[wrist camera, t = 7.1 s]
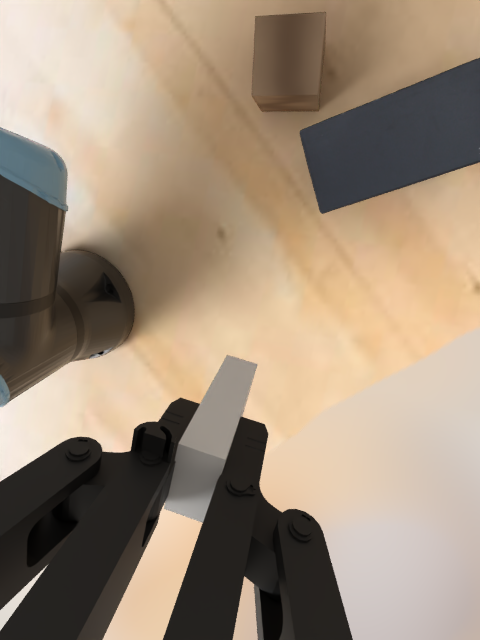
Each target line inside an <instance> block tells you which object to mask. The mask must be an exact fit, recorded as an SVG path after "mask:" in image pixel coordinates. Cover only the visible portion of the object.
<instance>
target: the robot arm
mask: <svg viewBox="0 0 480 640" xmlns="http://www.w3.org/2000/svg"><path fill="white" fill-rule="evenodd" d="M67 176H68V175H67V168H66V165H65V163H64V161H63V159H62V158H61V157H60V156H59V155H58V154H57V153H56V152H55V151H53V150H52V149H50V148H48V147H46V146H44V145H42V144H39V143H37V142H35V141H32V140H30V139H27V138H25V137H23V136H20V135H18V134H15V133H13V132H11V131H8V130H6V129H3V128H1V127H0V407H3V406H5V405H6V404H7V403H8V402H9V401H11V400H12V399H14V398H15V397H17V396H18V395H20V394H21V393H23V392H25V391H26V390H28V389H29V388H31V387H32V386H34V385H35V384H37V383H38V382H40V381H41V380H43V379H45V378H46V377H48V376H49V375H51V374H52V373H54V372H55V371H57V370H58V369H60V368H61V367H63V366H64V365H66V364H68V363H69V362H72V361H79V360H85V359H90V358H96V357H100V356H103V355H105V354H107V353H109V352H111V351H112V350H114V349H115V348H116V347H118V346H119V345H120V344H122V343H123V342H124V341H125V339H126V338H127V337H128V335H129V333H130V331H131V329H132V326H133V321H134V303H133V298H132V295H131V292H130V289H129V287H128V285H127V283H126V281H125V279H124V278H123V276H122V275H121V274H120V272H119V271H118V270H117V269H116V268H115V267H114V266H113V265H112V264H111V263H109V262H108V261H107V260H105V259H104V258H102V257H101V256H99V255H96V254H94V253H91V252H88V251H83V250H70V251H65V252H61V246H62V238H63V230H64V222H65V214H66V211H68V206H67V204H66V192H67ZM256 368H257V364H255V363H252V362H249V361H245V360H242V359H239V358H236V357H233V356H229V355H227V356H226V358H225V360H224V362H223V363H222V365H221V367H220V369H219V371H218V372H217V374H216V376H215V378H214V380H213V382H212V383H211V385H210V387H209V389H208V391H207V392H206V394H205V396H204V398H203V400H202V402H201V403H200V404H198V403H195V402H192V401H189V400H186V399H183V398H179V399H178V400H176V401H174V402H172V403H171V404H170V405H169V407H168V408H167V410H166V411H165V413H164V414H163V415H162V417H161V419H160V420H159V421H158V422H146V423H143V424H140V425H139V426H137V427H136V428H135V429H134V434H133V440H132V447H131V451H129V452H124V453H113V452H102V447H101V445H100V444H99V443H98V442H97V441H96V440H94V439H91V438H89V437H75V438H70V439H68V440H66V441H64V442H62V443H60V444H59V445H57V446H56V447H54V448H52V449H51V450H49V451H48V452H46V453H45V454H43V455H42V456H40V457H38V458H37V459H35V460H34V461H32V462H31V463H29V464H27V465H26V466H24V467H23V468H21V469H20V470H18V471H16V472H15V473H13V474H12V475H10V476H9V477H7V478H5V479H4V480H2V481H1V482H0V610H1V609H2V608H3V607H4V606H5V605H6V604H7V603H8V602H9V601H10V600H11V599H12V598H13V597H14V596H15V595H16V594H17V593H18V592H20V591H21V590H22V589H23V588H24V587H25V586H26V585H27V584H28V583H29V582H30V581H31V580H32V579H33V578H34V577H35V576H36V575H37V574H38V573H39V572H40V571H41V570H43V568H45V566H47V565H48V566H47V567H46V569H45V570H44V571H43V573H42V574H41V575H40V577H39V578H38V580H37V581H36V582H35V584H34V585H33V587H32V588H31V589H30V591H29V592H28V593H27V595H26V596H25V598H24V599H23V600H22V602H21V603H20V604H19V606H18V607H17V609H16V610H15V612H14V613H13V614H12V616H11V617H10V618H9V620H8V621H7V623H6V624H5V625H4V627H3V628H2V629H1V631H0V640H102V639H103V637H104V635H105V633H106V631H107V629H108V627H109V624H110V622H111V620H112V618H113V616H114V614H115V612H116V610H117V608H118V605H119V603H120V601H121V599H122V597H123V595H124V593H125V591H126V589H127V587H128V585H129V582H130V580H131V578H132V576H133V574H134V572H135V570H136V568H137V566H138V563H139V561H140V559H141V557H142V555H143V553H144V551H145V549H146V547H147V544H148V542H149V540H150V538H151V536H152V534H153V532H154V530H155V528H156V526H157V523H158V519H159V515H160V511H161V509H162V507H163V505H164V503H165V506H164V509H166V510H169V511H172V512H175V513H177V514H180V515H183V516H186V517H188V518H191V519H194V520H197V521H200V522H202V523H203V524H202V527H201V530H200V533H199V536H198V539H197V541H196V544H195V547H194V550H193V553H192V556H191V559H190V562H189V565H188V568H187V571H186V574H185V577H184V580H183V582H182V585H181V588H180V591H179V594H178V597H177V600H176V603H175V606H174V609H173V612H172V615H171V618H170V620H169V624H168V627H167V630H166V633H165V635H164V638H163V640H232V639H233V634H234V628H235V623H236V618H237V612H238V607H239V601H240V596H241V590H242V585H243V579H244V576H245V577H246V578H247V579H249V580H250V581H251V582H253V583H254V591H255V604H256V605H255V606H256V620H257V633H258V640H353V639H352V635H351V632H350V628H349V625H348V621H347V617H346V614H345V610H344V606H343V603H342V599H341V596H340V592H339V588H338V585H337V581H336V578H335V574H334V570H333V567H332V563H331V560H330V556H329V552H328V549H327V545H326V542H325V538H324V534H323V531H322V530H321V527H320V525H319V524H318V522H317V521H316V520H315V519H314V518H313V517H312V516H310V515H309V514H307V513H306V512H304V511H301V510H297V509H288V510H286V511H284V512H283V513H282V512H280V511H279V510H277V509H276V508H275V507H273V506H272V505H271V504H270V503H268V502H267V500H265V498H264V497H263V495H262V493H261V491H260V487H259V481H260V476H261V470H262V465H263V460H264V454H265V449H266V443H267V438H268V432H267V429H266V427H265V424H262V423H259V422H256V421H253V420H250V419H247V418H244V417H242V415H243V412H244V408H245V405H246V402H247V398H248V395H249V391H250V388H251V385H252V381H253V378H254V374H255V371H256ZM165 501H166V502H165Z"/></svg>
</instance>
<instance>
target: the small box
mask: <svg viewBox="0 0 480 640" xmlns="http://www.w3.org/2000/svg"><path fill="white" fill-rule="evenodd" d="M300 137H301V141H302V145H303V149H304V153H305V157H306V161H307V165H308V168H309V172H310V176H311V179H312V184H313V187H314V191H315V194H316V198H317V202H318V205H319V210H320V212H321V213H322V214H323V213H326V212H329V211H332V210H335V209H338V208H341V207H344V206H347V205H351V204H354V203H357V202H360V201H363V200H366V199H369V198H372V197H375V196H378V195H381V194H384V193H388V192H391V191H394V190H397V189H400V188H403V187H406V186H409V185H412V184H415V183H418V182H421V181H424V180H427V179H430V178H433V177H436V176H439V175H442V174H445V173H448V172H451V171H454V170H457V169H460V168H463V167H466V166H469V165H473V164H476V163H479V162H480V58H478V59H475V60H473V61H470V62H468V63H465V64H462V65H460V66H457V67H455V68H452V69H450V70H447V71H445V72H443V73H440V74H438V75H435V76H433V77H431V78H428V79H426V80H423V81H421V82H418V83H416V84H413V85H411V86H409V87H406V88H403V89H401V90H398V91H396V92H394V93H391V94H388V95H386V96H384V97H381V98H379V99H377V100H374V101H371V102H369V103H366V104H364V105H362V106H359V107H356V108H354V109H351V110H349V111H346V112H344V113H341V114H339V115H337V116H334V117H331V118H329V119H326V120H324V121H322V122H319V123H317V124H314V125H312V126H309V127H307V128H305V129H302V130H301V131H300Z"/></svg>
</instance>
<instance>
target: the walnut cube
mask: <svg viewBox="0 0 480 640" xmlns="http://www.w3.org/2000/svg"><path fill="white" fill-rule="evenodd" d="M325 32H326V12H319V13H303V14H286V15H269V16H255V35H254V57H253V80H252V97H253V98H254V100H255V102H256V103H257V105H258V106H259V108H260V109H261V111H262V112H272V111H319V101H320V91H321V80H322V70H323V60H324V50H325Z"/></svg>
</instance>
